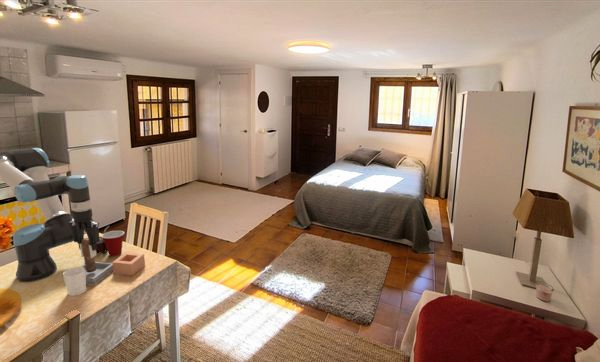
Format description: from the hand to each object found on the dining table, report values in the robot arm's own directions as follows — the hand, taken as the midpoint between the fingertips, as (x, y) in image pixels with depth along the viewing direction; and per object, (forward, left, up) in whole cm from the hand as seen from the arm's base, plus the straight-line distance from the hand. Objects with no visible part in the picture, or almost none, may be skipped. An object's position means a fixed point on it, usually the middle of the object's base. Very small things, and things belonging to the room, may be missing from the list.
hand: (89, 255), depth 151 cm
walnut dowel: (0, 0, -8) cm, 8 cm away
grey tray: (0, 0, -10) cm, 10 cm away
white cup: (+3, -13, -10) cm, 17 cm away
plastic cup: (-3, +21, -10) cm, 24 cm away
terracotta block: (+14, +8, -10) cm, 19 cm away
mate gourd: (-11, +22, -10) cm, 27 cm away
